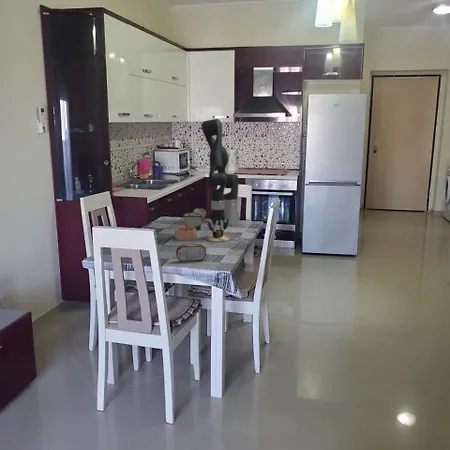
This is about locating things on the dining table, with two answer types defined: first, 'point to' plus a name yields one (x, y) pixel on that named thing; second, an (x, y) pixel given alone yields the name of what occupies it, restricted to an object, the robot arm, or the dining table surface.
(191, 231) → the bowl
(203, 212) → the decorative fruit
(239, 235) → the dining table surface
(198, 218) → the food container
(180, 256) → the portable speaker
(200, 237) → the mat
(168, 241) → the dining table surface
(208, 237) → the lid
